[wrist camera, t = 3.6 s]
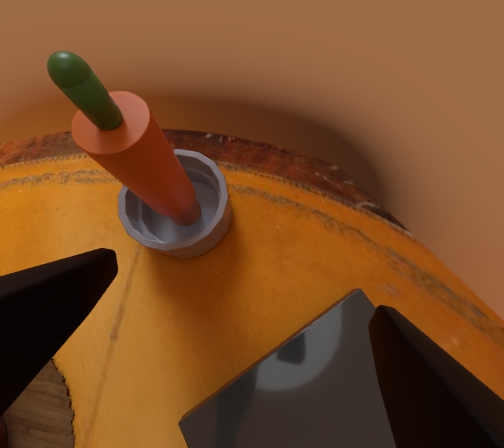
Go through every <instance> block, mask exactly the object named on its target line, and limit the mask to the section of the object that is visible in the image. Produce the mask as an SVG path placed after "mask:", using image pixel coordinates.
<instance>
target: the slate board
mask: <svg viewBox="0 0 504 448" xmlns="http://www.w3.org/2000/svg"><path fill="white" fill-rule="evenodd" d="M375 310H376V308H375V307H374V306H373V304H372V303H371V302H370V300H369V299H368V298H367V296H366V295H365V294H364V293H363V291H362V290H361V289H360V288H359V289H354V290H352V291H351V292H350V293H348V294H347V295H345V296H344V297H343V298H341V299H340V300H339V301H337V302H336V303H335V304H333V305H332V306H331V307H329V308H328V309H326V310H325V311H324V312H322V313H321V314H320V315H318V316H317V317H316V318H314V319H313V320H312V321H310V322H309V323H308V324H306V325H305V326H303V327H302V328H301V329H299V330H298V331H297V332H295V333H294V334H293V335H291V336H290V337H289V338H287V339H286V340H285V341H283V342H282V343H280V344H279V345H278V346H276V347H275V348H274V349H272V350H271V351H270V352H268V353H267V354H266V355H264V356H263V357H261V358H260V359H259V360H257V361H256V362H255V363H253V364H252V365H251V366H249V367H248V368H247V369H245V370H244V371H243V372H241V373H240V374H238V375H237V376H236V377H234V378H233V379H232V380H230V381H229V382H228V383H226V384H225V385H224V386H222V387H221V388H220V389H218V390H217V391H215V392H214V393H213V394H211V395H210V396H209V397H207V398H206V399H205V400H203V401H202V402H201V403H199V404H198V405H196V406H195V407H194V408H192V409H191V410H190V411H188V412H187V413H186V414H184V415H183V416H182V418H181V420H180V421H179V423H178V425H179V427H180V429H181V431H182V434H183V436H184V438H185V440H186V443H187V445H188V447H189V448H396V445H395V442H394V438H393V434H392V431H391V427H390V424H389V420H388V417H387V413H386V409H385V406H384V402H383V399H382V395H381V392H380V388H379V384H378V380H377V375H376V370H375V365H374V359H373V353H372V347H371V342H370V336H369V330H368V326H369V322H370V320H371V318H372V316H373V314H374V312H375Z"/></svg>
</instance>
